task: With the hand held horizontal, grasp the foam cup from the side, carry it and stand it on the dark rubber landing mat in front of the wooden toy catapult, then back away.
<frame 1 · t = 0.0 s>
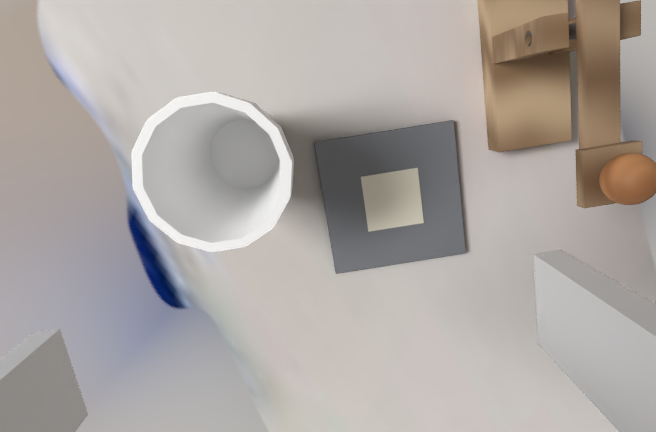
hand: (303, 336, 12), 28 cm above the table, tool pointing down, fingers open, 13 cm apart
catapult: (518, 60, 38), on the table
landing mat: (391, 198, 40), on the table
foam cup: (246, 153, 39), on the table
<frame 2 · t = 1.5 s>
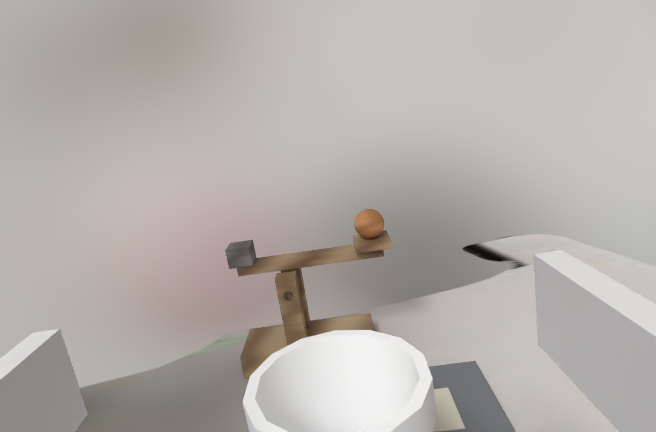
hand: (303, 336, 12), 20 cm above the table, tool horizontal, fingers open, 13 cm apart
catapult: (312, 353, 49), on the table
landing mat: (426, 417, 37), on the table
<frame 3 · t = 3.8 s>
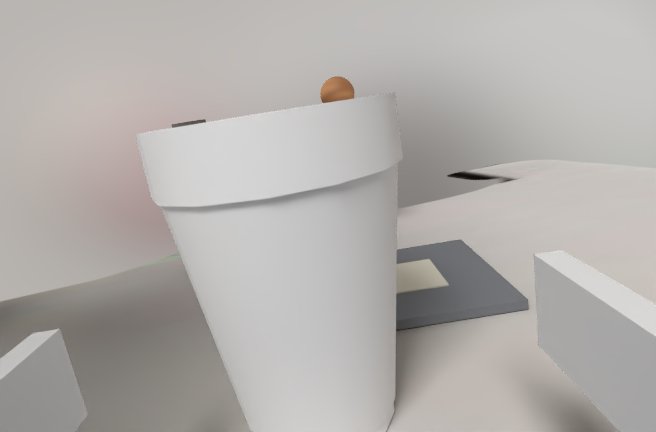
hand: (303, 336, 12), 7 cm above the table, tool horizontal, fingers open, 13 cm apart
catapult: (277, 254, 43), on the table
landing mat: (404, 285, 31), on the table
foam cup: (323, 415, 20), on the table
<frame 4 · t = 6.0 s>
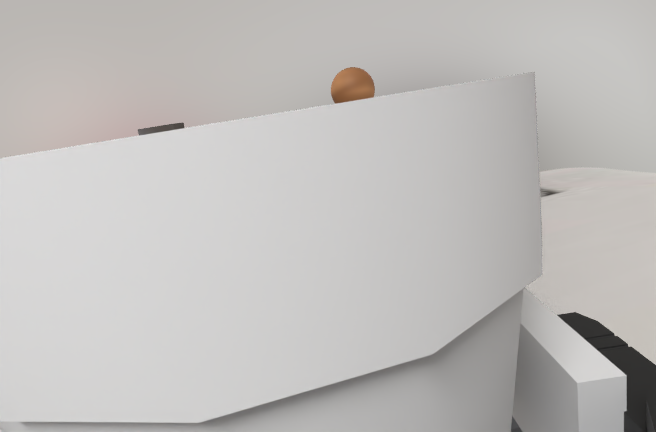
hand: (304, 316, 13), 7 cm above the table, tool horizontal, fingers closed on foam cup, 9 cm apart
catapult: (275, 292, 34), on the table
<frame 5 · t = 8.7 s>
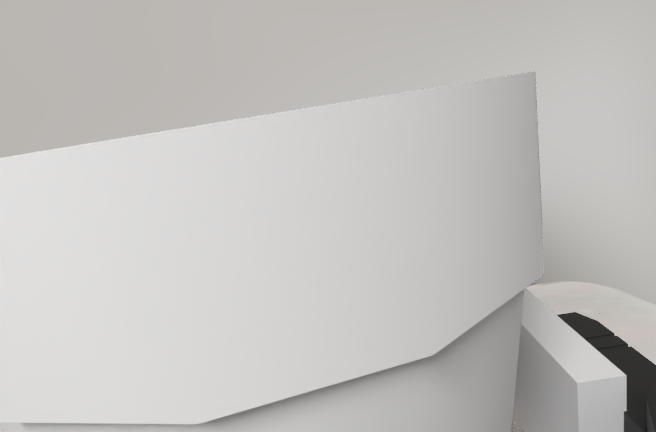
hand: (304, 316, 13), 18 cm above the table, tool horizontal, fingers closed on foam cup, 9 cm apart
when the fingers open (8 cm above the table, at t = 11.3 s): foam cup stays where it is, resting on landing mat.
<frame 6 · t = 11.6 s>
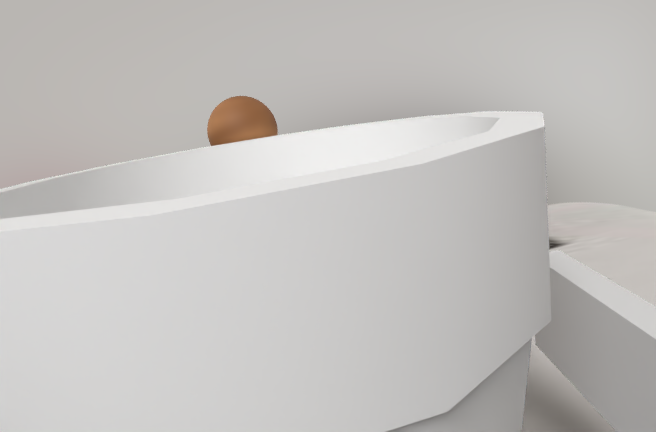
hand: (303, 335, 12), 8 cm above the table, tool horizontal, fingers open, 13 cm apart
catapult: (142, 427, 23), on the table
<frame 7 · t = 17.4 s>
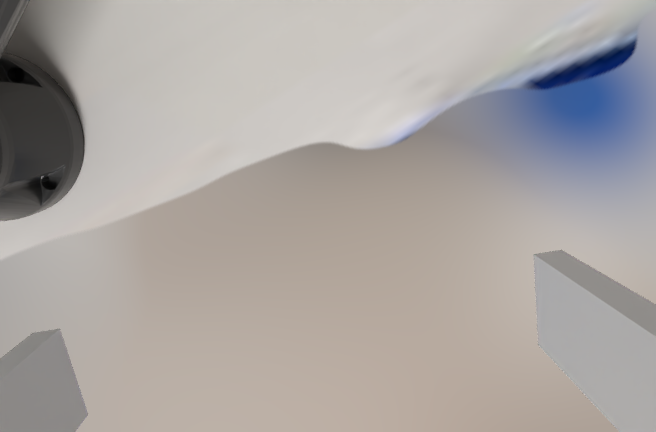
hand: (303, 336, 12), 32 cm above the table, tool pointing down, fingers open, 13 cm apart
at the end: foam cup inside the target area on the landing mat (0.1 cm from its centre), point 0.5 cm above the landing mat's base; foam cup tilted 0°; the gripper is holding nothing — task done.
